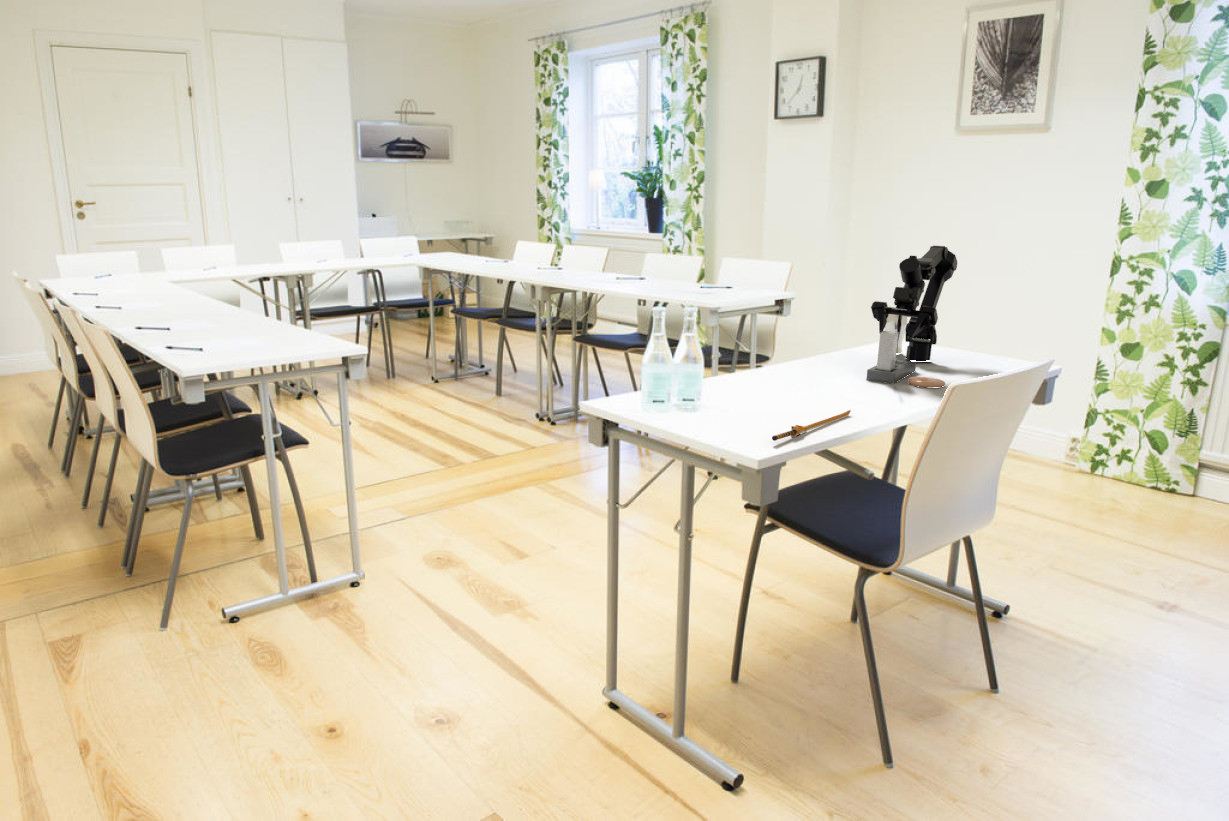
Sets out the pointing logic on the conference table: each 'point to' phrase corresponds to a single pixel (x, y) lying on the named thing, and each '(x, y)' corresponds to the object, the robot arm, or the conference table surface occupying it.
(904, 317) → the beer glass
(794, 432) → the katana
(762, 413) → the conference table surface
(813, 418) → the conference table surface
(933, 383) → the terracotta coaster
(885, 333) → the steel peg
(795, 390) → the conference table surface
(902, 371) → the rack rail
